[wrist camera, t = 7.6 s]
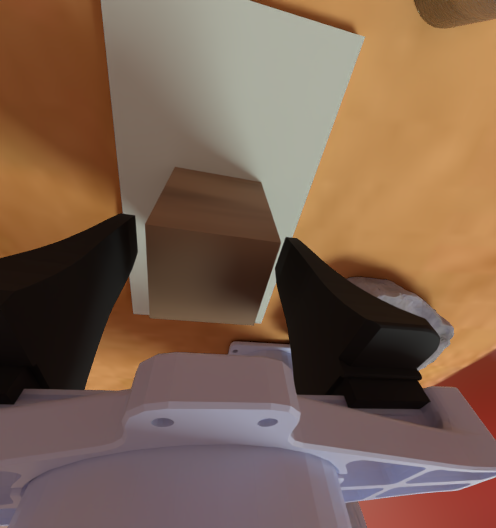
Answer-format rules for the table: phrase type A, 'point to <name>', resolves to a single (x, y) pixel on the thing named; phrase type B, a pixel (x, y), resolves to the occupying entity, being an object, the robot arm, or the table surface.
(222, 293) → the walnut block
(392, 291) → the stone block
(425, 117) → the table surface
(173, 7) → the sage mat
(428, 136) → the table surface
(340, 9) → the table surface
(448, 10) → the steel cylinder
